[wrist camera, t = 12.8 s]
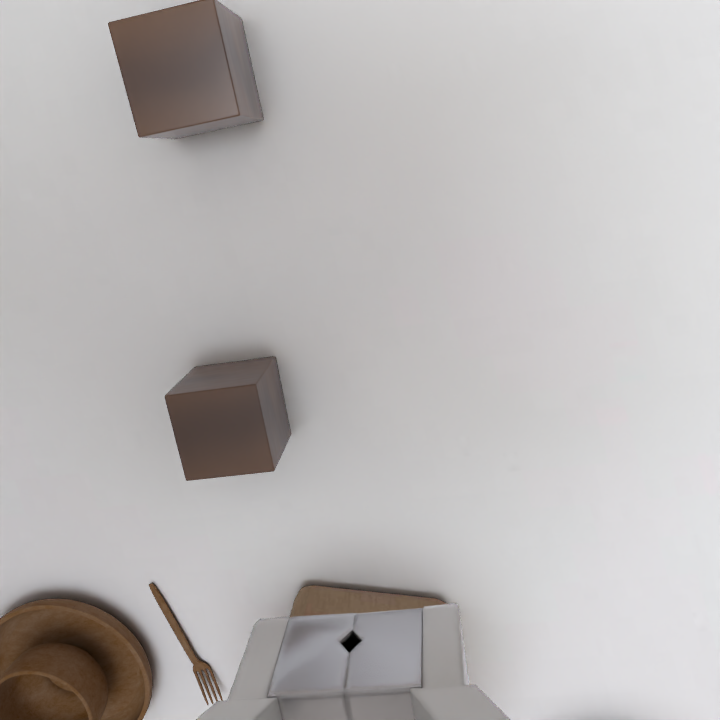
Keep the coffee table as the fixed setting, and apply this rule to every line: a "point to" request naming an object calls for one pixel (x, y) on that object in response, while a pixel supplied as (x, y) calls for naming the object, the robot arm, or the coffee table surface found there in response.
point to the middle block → (186, 70)
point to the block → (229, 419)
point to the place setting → (78, 663)
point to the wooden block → (353, 601)
